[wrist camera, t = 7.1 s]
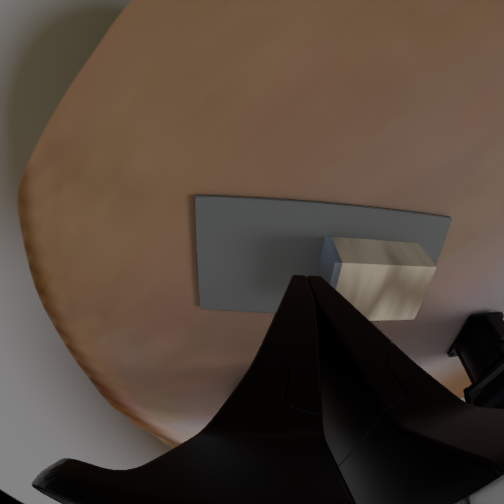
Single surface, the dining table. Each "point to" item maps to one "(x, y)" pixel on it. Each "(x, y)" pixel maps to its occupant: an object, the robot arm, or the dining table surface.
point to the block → (378, 275)
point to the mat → (287, 243)
